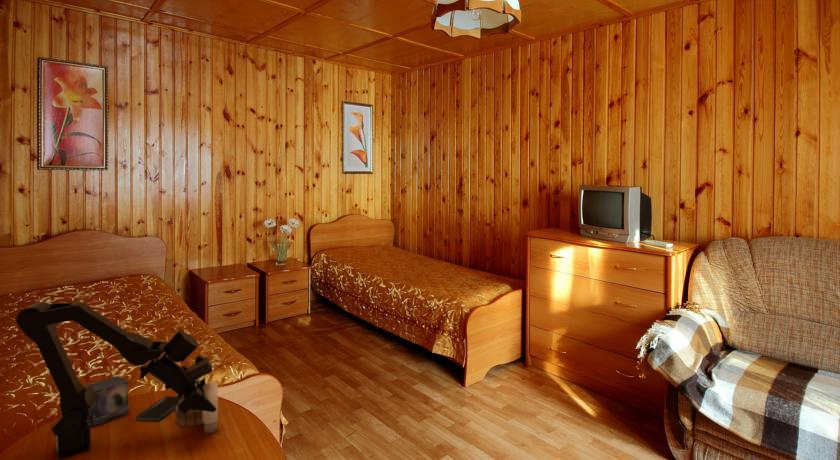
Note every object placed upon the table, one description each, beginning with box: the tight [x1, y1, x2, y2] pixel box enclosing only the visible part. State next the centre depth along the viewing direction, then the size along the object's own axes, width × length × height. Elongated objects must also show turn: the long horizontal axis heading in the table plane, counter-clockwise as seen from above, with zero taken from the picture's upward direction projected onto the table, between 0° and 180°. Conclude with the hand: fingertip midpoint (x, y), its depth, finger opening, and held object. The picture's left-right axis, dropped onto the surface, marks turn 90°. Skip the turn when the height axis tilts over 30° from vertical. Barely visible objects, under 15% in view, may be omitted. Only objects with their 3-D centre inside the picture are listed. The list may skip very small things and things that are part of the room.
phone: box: [135, 395, 183, 423], centre depth 148 cm, size 8×1×15 cm
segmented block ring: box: [174, 405, 204, 428], centre depth 143 cm, size 10×10×4 cm
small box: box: [84, 375, 130, 428], centre depth 142 cm, size 11×6×10 cm, turn 148°
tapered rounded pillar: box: [202, 382, 219, 434], centre depth 136 cm, size 4×4×13 cm
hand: (215, 407), depth 137 cm, fingers closed on tapered rounded pillar, 4 cm apart
